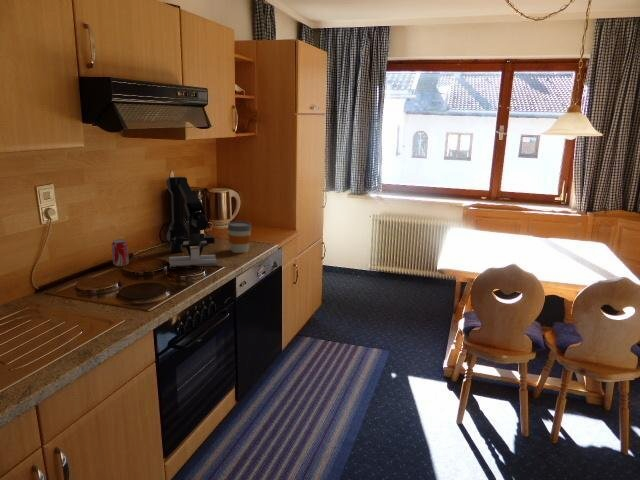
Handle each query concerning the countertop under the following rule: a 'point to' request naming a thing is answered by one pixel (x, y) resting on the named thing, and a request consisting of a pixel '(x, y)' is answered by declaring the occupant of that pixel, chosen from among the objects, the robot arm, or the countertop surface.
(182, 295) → the countertop surface
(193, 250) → the block
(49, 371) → the countertop surface
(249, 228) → the reusable coffee cup
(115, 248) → the soda can
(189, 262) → the rail
